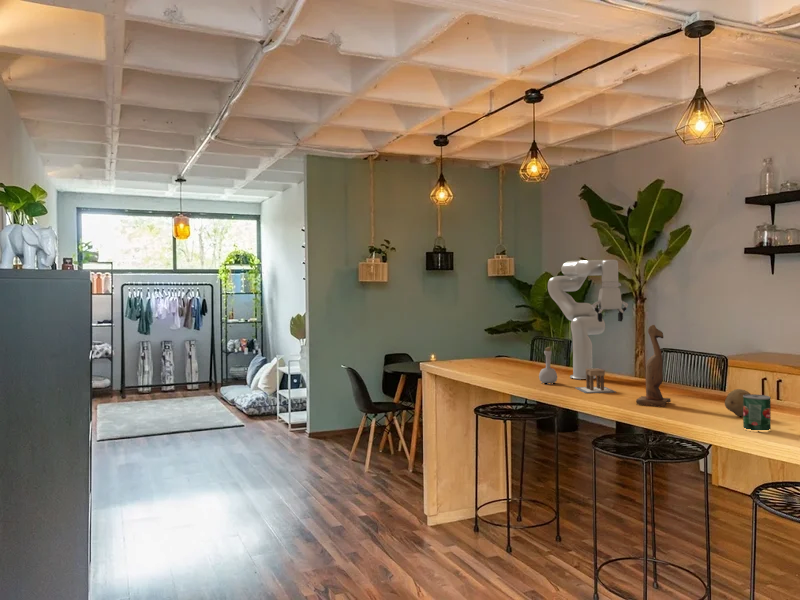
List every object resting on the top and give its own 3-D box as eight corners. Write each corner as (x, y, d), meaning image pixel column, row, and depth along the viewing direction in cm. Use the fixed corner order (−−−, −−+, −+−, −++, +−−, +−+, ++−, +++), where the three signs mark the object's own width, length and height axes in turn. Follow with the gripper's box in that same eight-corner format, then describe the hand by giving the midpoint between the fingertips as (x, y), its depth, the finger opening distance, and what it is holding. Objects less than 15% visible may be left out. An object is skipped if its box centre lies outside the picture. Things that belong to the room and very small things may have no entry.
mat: (575, 388, 295) (575, 387, 295) (604, 387, 296) (604, 386, 296) (585, 393, 281) (585, 392, 281) (616, 392, 282) (616, 391, 282)
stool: (585, 388, 291) (585, 368, 291) (599, 387, 292) (599, 368, 292) (590, 390, 285) (590, 370, 285) (604, 390, 285) (604, 370, 285)
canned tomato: (774, 432, 203) (774, 398, 203) (748, 432, 204) (748, 398, 204) (765, 427, 211) (765, 394, 211) (739, 426, 212) (739, 394, 212)
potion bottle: (559, 384, 306) (559, 347, 306) (541, 384, 306) (540, 347, 306) (555, 381, 315) (554, 345, 315) (537, 382, 315) (536, 345, 315)
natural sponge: (729, 419, 224) (729, 390, 224) (721, 413, 233) (721, 386, 233) (757, 419, 223) (757, 391, 223) (748, 414, 232) (748, 387, 231)
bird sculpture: (667, 408, 246) (670, 326, 245) (635, 405, 252) (638, 324, 251) (670, 404, 256) (673, 324, 255) (640, 400, 262) (642, 323, 261)
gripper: (624, 285, 307) (624, 320, 308) (589, 285, 306) (589, 321, 307) (630, 285, 300) (631, 321, 300) (595, 285, 299) (595, 322, 299)
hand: (610, 321), depth 303 cm, fingers open, 9 cm apart
